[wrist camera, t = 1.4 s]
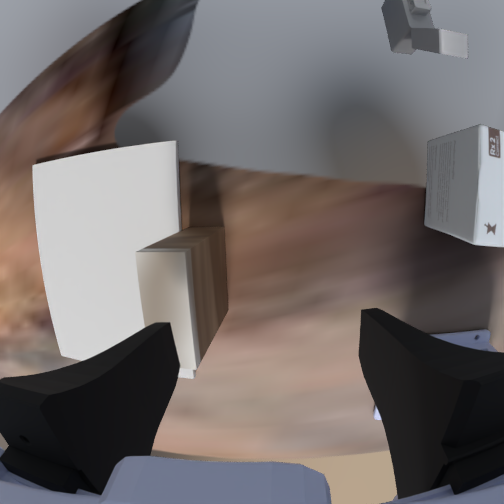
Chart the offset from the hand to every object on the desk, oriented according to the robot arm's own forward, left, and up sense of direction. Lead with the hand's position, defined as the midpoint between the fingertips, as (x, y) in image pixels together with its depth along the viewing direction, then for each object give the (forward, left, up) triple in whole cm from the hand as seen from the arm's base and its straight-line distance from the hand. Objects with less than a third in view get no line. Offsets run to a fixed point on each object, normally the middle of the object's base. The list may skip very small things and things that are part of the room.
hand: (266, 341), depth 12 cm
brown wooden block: (+5, 0, -11) cm, 12 cm away
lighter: (-9, -16, -11) cm, 21 cm away
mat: (+14, 0, -11) cm, 17 cm away
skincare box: (-13, -6, -11) cm, 18 cm away
